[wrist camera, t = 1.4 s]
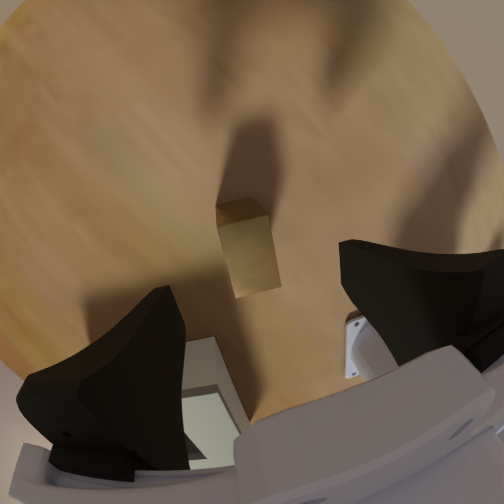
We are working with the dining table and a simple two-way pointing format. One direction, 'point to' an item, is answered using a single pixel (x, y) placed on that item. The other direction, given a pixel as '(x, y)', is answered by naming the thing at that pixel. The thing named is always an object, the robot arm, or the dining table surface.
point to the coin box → (209, 407)
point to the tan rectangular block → (247, 247)
